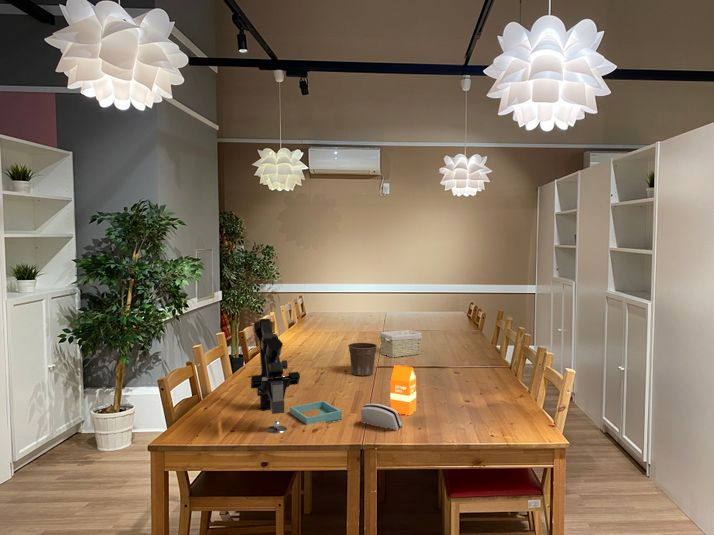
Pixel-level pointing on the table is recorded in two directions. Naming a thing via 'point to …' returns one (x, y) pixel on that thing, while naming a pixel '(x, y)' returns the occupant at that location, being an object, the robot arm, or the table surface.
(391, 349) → the storage basket
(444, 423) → the table surface
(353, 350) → the plant pot
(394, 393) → the orange juice
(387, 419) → the magnetic glass cleaner
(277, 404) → the strut
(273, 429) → the stud plate
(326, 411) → the bin
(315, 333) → the table surface
